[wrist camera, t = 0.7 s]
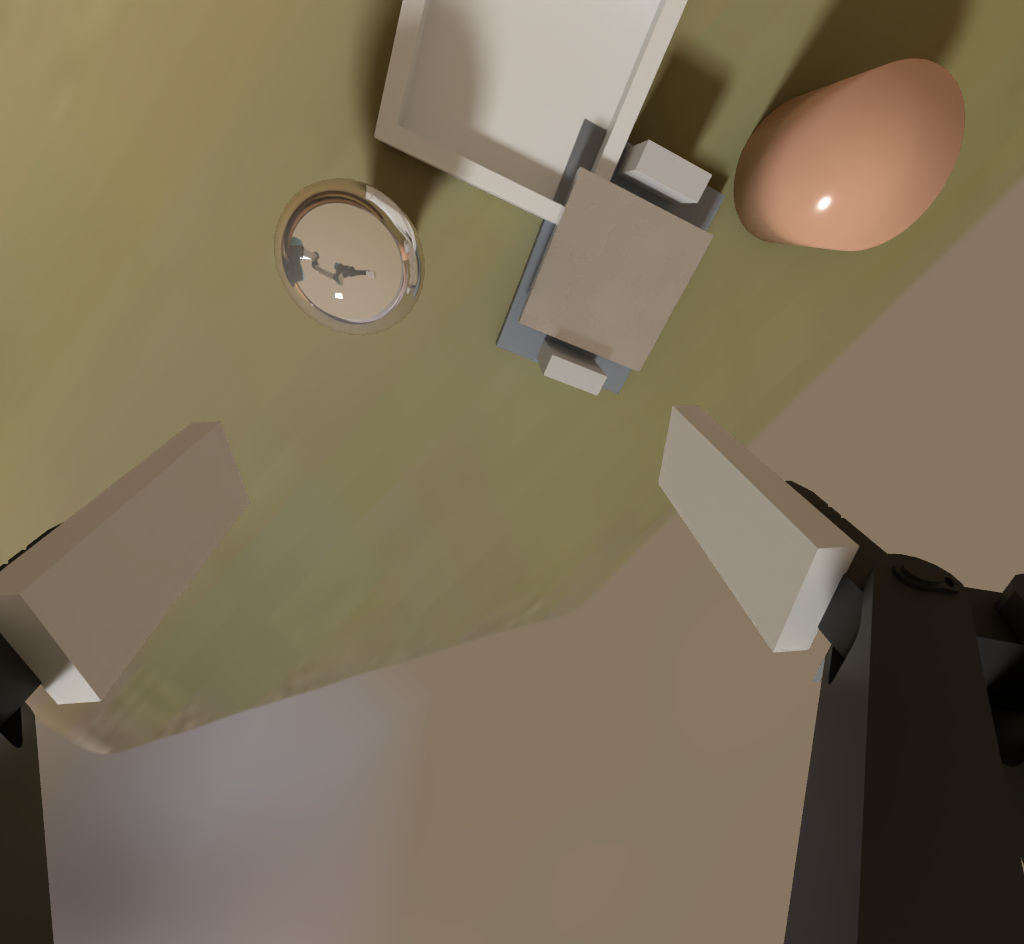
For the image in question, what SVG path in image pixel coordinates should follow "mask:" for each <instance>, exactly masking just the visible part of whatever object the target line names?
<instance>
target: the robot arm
mask: <svg viewBox="0 0 1024 944" xmlns="http://www.w3.org/2000/svg"><path fill="white" fill-rule="evenodd" d="M658 484H659V485H660V487H661V488H662V490H663V491H664V493H665V494H666V496H667V497H668V498H669V500H670V501H671V503H672V504H673V506H674V507H675V509H676V510H677V512H678V513H679V515H680V516H681V518H682V519H683V520H684V522H685V523H686V525H687V526H688V528H689V529H690V531H691V532H692V534H693V535H694V537H695V538H696V540H697V541H698V542H699V544H700V546H701V547H702V548H703V550H704V551H705V553H706V554H707V556H708V557H709V559H710V560H711V562H712V563H713V565H714V566H715V568H716V569H717V571H718V572H719V573H720V575H721V576H722V578H723V579H724V580H725V582H726V584H727V585H728V587H729V588H730V589H731V591H732V593H733V594H734V595H735V597H736V599H737V600H738V601H739V603H740V604H741V606H742V607H743V609H744V610H745V612H746V613H747V615H748V616H749V618H750V619H751V621H752V622H753V624H754V625H755V626H756V628H757V629H758V631H759V632H760V634H761V635H762V637H763V638H764V640H765V641H766V643H767V644H768V645H769V647H770V649H771V650H772V651H773V652H784V651H797V650H808V649H809V648H810V646H811V643H812V641H813V639H814V637H815V635H816V633H817V631H818V629H819V630H820V631H821V632H822V633H823V634H824V636H825V637H826V638H827V639H828V640H829V641H830V643H831V646H830V649H829V650H828V652H827V654H826V656H825V658H824V660H823V662H822V664H821V666H820V667H819V669H818V671H817V673H816V675H815V677H814V679H813V681H815V682H817V683H819V682H820V681H821V679H822V682H821V690H820V697H819V703H818V711H817V717H816V724H815V731H814V738H813V745H812V752H811V759H810V766H809V773H808V780H807V787H806V793H805V800H804V808H803V815H802V821H801V828H800V836H799V842H798V849H797V856H796V863H795V870H794V877H793V884H792V892H791V898H790V905H789V912H788V919H787V926H786V933H785V940H784V944H1024V872H1023V867H1022V863H1021V859H1022V861H1023V863H1024V574H1019V575H1015V577H1014V578H1013V579H1012V581H1011V582H1010V583H1009V585H1008V586H1007V587H1006V589H1005V590H1004V591H1003V593H999V592H993V591H987V590H980V589H974V588H968V587H964V586H963V584H962V583H961V582H960V581H958V580H957V579H956V578H955V577H954V576H953V575H951V574H950V573H948V572H947V571H945V570H943V569H942V568H940V567H938V566H936V565H934V564H932V563H929V562H927V561H924V560H922V559H919V558H916V557H911V556H907V555H902V554H887V553H886V552H884V551H883V550H882V549H881V548H880V547H878V546H877V545H876V544H875V543H874V542H872V541H871V540H870V539H869V538H868V537H866V536H865V535H864V534H863V533H862V532H860V531H859V530H858V529H857V528H855V527H854V526H853V525H852V524H851V523H850V522H848V521H847V520H846V519H844V518H841V515H840V514H839V513H838V512H836V511H835V510H834V509H833V508H832V507H828V504H827V503H826V502H824V501H823V500H822V499H821V498H820V497H818V496H817V495H816V494H815V493H814V492H812V491H810V490H808V489H806V488H804V487H802V486H800V485H798V484H796V483H794V482H793V481H784V480H783V479H782V478H781V477H780V476H778V475H777V474H776V473H775V472H774V471H773V470H772V469H770V468H769V467H768V466H767V465H766V464H765V463H764V462H762V461H761V460H760V459H759V458H758V457H757V456H755V455H754V454H753V453H752V452H751V451H750V450H749V449H747V448H746V447H745V446H744V445H743V444H742V443H741V442H739V441H738V440H737V439H736V438H735V437H734V436H733V435H731V434H730V433H729V432H728V431H727V430H726V429H724V428H723V427H722V426H721V425H720V424H719V423H718V422H716V421H715V420H714V419H713V418H712V417H711V416H710V415H708V414H707V413H706V412H705V411H704V410H703V409H702V408H700V407H699V406H698V405H681V406H673V408H672V413H671V418H670V424H669V429H668V434H667V440H666V445H665V450H664V456H663V461H662V466H661V472H660V477H659V482H658ZM249 503H250V501H249V498H248V495H247V493H246V490H245V487H244V484H243V481H242V479H241V476H240V473H239V470H238V468H237V465H236V462H235V459H234V456H233V454H232V451H231V448H230V445H229V442H228V440H227V437H226V434H225V431H224V428H223V426H222V423H221V421H218V422H193V423H191V424H190V425H189V426H187V427H186V428H185V429H184V430H182V431H181V432H180V433H178V434H177V435H176V436H174V437H173V438H172V439H171V440H169V441H168V442H167V443H165V444H164V445H163V446H162V447H160V448H159V449H158V450H156V451H155V452H154V453H153V454H151V455H150V456H149V457H147V458H146V459H145V460H143V461H142V462H141V463H140V464H138V465H137V466H136V467H134V468H133V469H132V470H131V471H129V472H128V473H127V474H125V475H124V476H123V477H122V478H120V479H119V480H118V481H116V482H115V483H114V484H113V485H111V486H110V487H109V488H107V489H106V490H105V491H103V492H102V493H101V494H100V495H98V496H97V497H96V498H94V499H93V500H92V501H91V502H89V503H88V504H87V505H85V506H84V507H83V508H82V509H80V510H79V511H78V512H76V513H75V514H74V515H72V516H71V517H70V518H69V519H67V520H66V521H65V522H63V523H61V524H59V525H57V526H55V527H53V528H51V529H49V530H47V531H46V532H45V533H44V534H42V535H41V536H40V537H38V538H37V539H36V540H34V541H33V542H32V543H30V544H29V545H28V546H27V547H26V550H21V551H20V552H19V553H17V554H16V555H15V556H13V557H12V558H11V559H10V560H8V564H3V565H2V566H0V944H54V942H53V930H52V918H51V906H50V894H49V883H48V870H47V858H46V846H45V835H44V834H45V833H44V822H43V809H42V798H41V785H40V774H39V761H38V749H37V737H36V725H35V715H34V713H33V711H32V710H31V708H30V707H29V706H28V705H27V704H26V702H25V701H26V700H27V698H28V697H29V696H30V695H31V694H32V693H33V692H34V691H35V690H36V688H37V687H38V686H39V685H40V684H41V685H42V686H43V687H44V689H45V690H46V691H47V692H48V693H49V694H50V696H51V697H52V698H53V699H54V700H55V702H56V703H57V704H68V703H82V702H95V701H102V699H103V698H104V697H105V695H106V694H107V693H108V691H109V690H110V689H111V687H112V686H113V685H114V683H115V682H116V681H117V679H118V678H119V677H120V675H121V674H122V673H123V671H124V670H125V669H126V667H127V666H128V665H129V663H130V662H131V661H132V659H133V658H134V657H135V655H136V654H137V653H138V651H139V650H140V649H141V647H142V646H143V645H144V643H145V642H146V641H147V639H148V638H149V637H150V635H151V634H152V633H153V631H154V630H155V629H156V627H157V626H158V625H159V623H160V622H161V620H162V619H163V618H164V616H165V615H166V614H167V612H168V611H169V610H170V608H171V607H172V606H173V604H174V603H175V602H176V600H177V599H178V598H179V596H180V595H181V594H182V592H183V591H184V590H185V588H186V587H187V586H188V584H189V583H190V582H191V580H192V579H193V578H194V576H195V575H196V574H197V572H198V571H199V570H200V568H201V567H202V566H203V564H204V563H205V562H206V560H207V559H208V558H209V556H210V555H211V554H212V552H213V551H214V550H215V548H216V547H217V546H218V544H219V543H220V542H221V540H222V539H223V538H224V536H225V535H226V534H227V532H228V531H229V530H230V528H231V527H232V526H233V524H234V523H235V522H236V520H237V519H238V518H239V516H240V515H241V514H242V512H243V511H244V509H245V508H246V507H247V505H248V504H249Z"/></svg>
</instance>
